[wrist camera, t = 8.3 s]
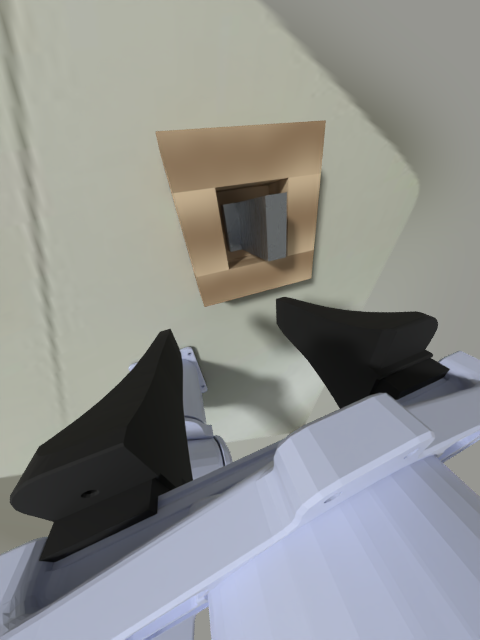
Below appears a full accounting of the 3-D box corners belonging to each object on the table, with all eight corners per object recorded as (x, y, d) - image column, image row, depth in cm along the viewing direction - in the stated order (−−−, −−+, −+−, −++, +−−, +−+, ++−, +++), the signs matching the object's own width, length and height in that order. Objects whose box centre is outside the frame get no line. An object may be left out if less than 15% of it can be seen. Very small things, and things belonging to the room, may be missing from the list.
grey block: (262, 243, 19) (300, 253, 13) (227, 250, 18) (252, 265, 13) (260, 199, 17) (304, 189, 11) (220, 205, 16) (246, 198, 10)
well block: (291, 269, 22) (311, 278, 19) (199, 292, 20) (204, 307, 17) (294, 140, 16) (325, 120, 13) (159, 152, 14) (155, 131, 10)
